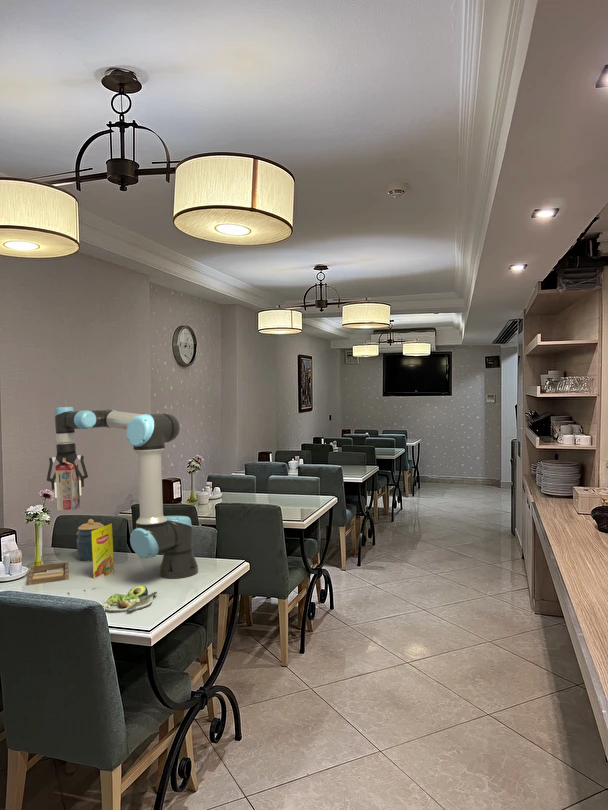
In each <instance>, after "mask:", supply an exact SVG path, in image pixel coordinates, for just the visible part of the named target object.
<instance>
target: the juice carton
mask: <svg viewBox="0 0 608 810" xmlns="http://www.w3.org/2000/svg"><path fill="white" fill-rule="evenodd" d="M63 462H64V463H63V464H62V465H59V463H58V464H57V465H55V472H56V479H55V482H56V488H57V498H56V504H57V506H56V507H57V512H59V511H65V512H66V511H75V510H77V509H79V508H80V509H81V499H80V497H81V495H80V494H79V480H80V477H79V475H78V474H77V472H76V470H75V466H74V465H73V464H71V463H69V462H66V458H65V460H64V458H63ZM74 463H75V465H76V466H77V468H78V469H79V464H78V463H77V462H75V461H74Z"/></svg>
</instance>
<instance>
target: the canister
mask: <svg viewBox="0 0 608 810" xmlns="http://www.w3.org/2000/svg"><path fill="white" fill-rule="evenodd" d="M104 526H105V525H104V524H102V523H101V522H99V521H98V522H97V521H94V519H93V518H90V519H88V521H87V523H83V524H81V525H80V526H78V527H77V530H78V531H77V532H76V534H75V535H76V536H77V539H76V550H77V552H76V553H77V554H76V557H77V559H78V560H79V561H83V562H84V561H85V562H86V561H87V562H88V561H93V555H92V532H91V531H93V530H96V529H99V528H101V527H104Z"/></svg>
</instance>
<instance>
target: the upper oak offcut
mask: <svg viewBox="0 0 608 810" xmlns="http://www.w3.org/2000/svg"><path fill="white" fill-rule="evenodd" d="M62 575H65V570H64V571H54V572H46V573H37V574H34V576H33V578H32V580H34V579H41V578H48V577H55V576H62Z"/></svg>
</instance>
